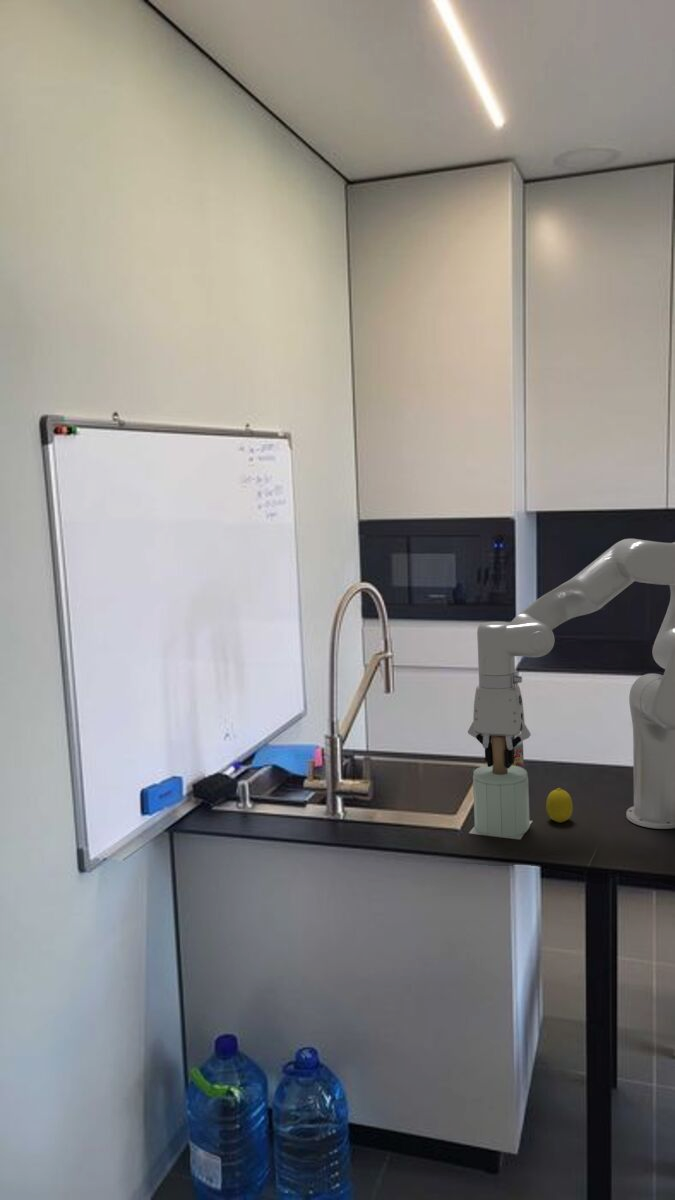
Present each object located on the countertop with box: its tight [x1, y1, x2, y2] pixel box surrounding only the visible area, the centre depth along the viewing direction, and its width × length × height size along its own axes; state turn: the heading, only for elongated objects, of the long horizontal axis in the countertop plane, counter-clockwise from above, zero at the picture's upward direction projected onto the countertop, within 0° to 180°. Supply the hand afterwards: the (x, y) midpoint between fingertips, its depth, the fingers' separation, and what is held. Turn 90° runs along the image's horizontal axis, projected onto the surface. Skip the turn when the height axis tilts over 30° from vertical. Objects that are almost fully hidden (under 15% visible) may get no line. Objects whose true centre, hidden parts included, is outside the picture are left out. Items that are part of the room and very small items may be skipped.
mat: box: [468, 819, 533, 840], centre depth 194 cm, size 11×11×1 cm
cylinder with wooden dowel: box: [472, 735, 531, 838], centre depth 193 cm, size 11×11×20 cm
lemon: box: [545, 787, 574, 823], centre depth 196 cm, size 6×6×8 cm
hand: (499, 764), depth 193 cm, fingers closed on cylinder with wooden dowel, 3 cm apart
